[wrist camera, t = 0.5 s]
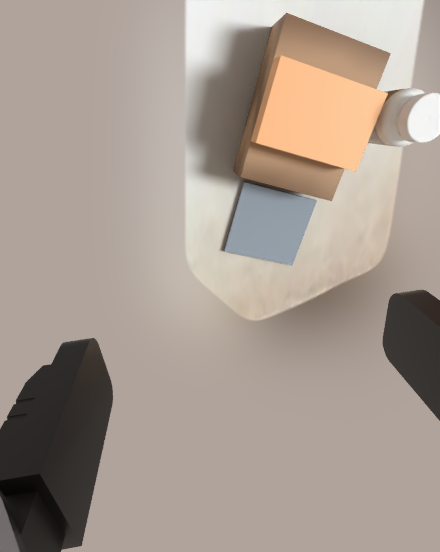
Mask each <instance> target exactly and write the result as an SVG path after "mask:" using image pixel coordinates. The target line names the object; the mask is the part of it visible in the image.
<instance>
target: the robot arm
mask: <svg viewBox="0 0 440 552" xmlns="http://www.w3.org/2000/svg"><path fill="white" fill-rule="evenodd" d="M383 347H384V351H385V354H386V356H387V358H388V360H389V361H390V362H391V363H392V365H393V366H394V367H395V368H396V369H397V371H398V372H399V373H400V374H401V375H402V377H403V378H404V379H405V380H406V381H407V383H408V384H409V385H410V386H411V387H412V388H413V390H414V391H415V392H416V393H417V394H418V395H419V397H420V398H421V399H422V400H423V401H424V403H425V404H426V405H427V406H428V407H429V409H430V410H431V411H432V412H433V413H434V414H435V416H436V417H437V418H438V419H439V420H440V300H438V299H437V298H436V297H434V296H433V295H431V294H430V293H429V292H427V291H425V290H416V291H410V292H403V293H396V294H393V295H392V296H391V297H390V300H389V304H388V310H387V316H386V323H385V328H384V335H383ZM112 402H113V390H112V384H111V380H110V377H109V374H108V371H107V368H106V365H105V362H104V359H103V356H102V353H101V350H100V348H99V345H98V342H97V341H96V340H95V339H94V338H91V339H84V340H77V341H70V342H65V343H62V345H61V346H60V348H59V350H58V352H57V354H56V356H55V358H54V360H53V362H52V364H51V365H44V366H42V367H41V368H40V369H39V370H38V371H37V372H36V373H35V374H34V375H33V376H32V377H31V378H30V379H29V380H28V381H27V382H26V383H25V385H24V387H23V389H22V391H21V392H20V394H19V396H18V398H17V400H16V404H14V405H13V407H12V409H11V411H10V412H9V414H8V416H7V421H5V422H4V423H3V425H2V427H1V429H0V552H61V550H62V549H67V548H73V547H78V546H82V541H83V537H84V532H85V527H86V523H87V518H88V513H89V509H90V504H91V500H92V495H93V491H94V486H95V482H96V477H97V472H98V467H99V463H100V459H101V454H102V449H103V445H104V440H105V436H106V431H107V426H108V422H109V417H110V413H111V408H112Z"/></svg>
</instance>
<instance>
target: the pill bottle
mask: <svg viewBox="0 0 440 552" xmlns="http://www.w3.org/2000/svg"><path fill="white" fill-rule="evenodd" d="M385 93H388V95H387V97H386V99H385V102H384V104H383V107H382V109H381V112H380V114H379V116H378V119H377V121H376V124H375V126H374V129H373V131H372V133H371V136H370V138H369V141H368V143H372V144H380V145H388V146H398V147H401V146H407V145H410V144H412V143H414V142H417V143H424V142H428V141H430V140H433V139H434V138H436V137H437V136H438V135H439V134H440V94H438V93H425V92H423V91H421V90H419V89H414V88H410V89H400V90H393V91H385Z"/></svg>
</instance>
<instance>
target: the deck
mask: <svg viewBox="0 0 440 552" xmlns="http://www.w3.org/2000/svg"><path fill="white" fill-rule="evenodd" d="M390 54H391V53H388V52H386V51H383V50H380V49H378V48H375V47H373V46H370V45H368V44H365V43H362V42H360V41H357V40H355V39H352V38H350V37H347V36H345V35H342V34H339V33H337V32H334V31H332V30H329V29H327V28H324V27H321V26H319V25H316V24H314V23H311V22H309V21H306V20H304V19H301V18H298V17H296V16H293V15H291V14H288V13H286V14H285V15H284V16H283V17H282V18H281V19H280V20H279V21H278V22H276V23H275V24H274V25H273V26H272V29H271V33H270V36H269V40H268V44H267V48H266V51H265V55H264V59H263V62H262V66H261V70H260V73H259V77H258V81H257V85H256V88H255V92H254V96H253V99H252V103H251V107H250V111H249V114H248V118H247V122H246V125H245V129H244V133H243V137H242V140H241V144H240V148H239V151H238V155H237V159H236V163H235V166H234V170H233V171H234V172H235V173H236V174H238V175H239V176H240V177H242V178H246V179H249V180H253V181H257V182H261V183H265V184H269V185H272V186H276V187H280V188H284V189H288V190H291V191H295V192H299V193H303V194H307V195H311V196H314V197H318V198H322V199H326V200H330V201H332V199H333V197H334V194H335V192H336V189H337V187H338V184H339V181H340V179H341V176H342V174H343V171H344V168H341V167H338V166H334V165H331V164H327V163H324V162H320V161H317V160H313V159H310V158H306V157H303V156H299V155H296V154H293V153H289V152H286V151H282V150H279V149H275V148H272V147H268V146H265V145H261V144H258V143H255V142H251V138H252V135H253V131H254V128H255V124H256V120H257V117H258V113H259V110H260V106H261V103H262V99H263V95H264V92H265V88H266V85H267V81H268V78H269V74H270V70H271V67H272V63H273V60H274V59H275V58H277V57H279V56H281V55H282V56H285V57H288V58H290V59H293V60H296V61H299V62H302V63H304V64H307V65H310V66H313V67H316V68H318V69H321V70H324V71H327V72H329V73H332V74H335V75H338V76H341V77H343V78H346V79H349V80H352V81H355V82H357V83H360V84H363V85H366V86H369V87H371V88H374V89H377V86H378V84H379V81H380V79H381V76H382V74H383V71H384V69H385V66H386V64H387V61H388V59H389V56H390Z"/></svg>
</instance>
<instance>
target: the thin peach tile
mask: <svg viewBox="0 0 440 552" xmlns="http://www.w3.org/2000/svg"><path fill="white" fill-rule="evenodd" d="M387 95H388V93H385V92H383V91H380V90H377V89H374V88H371V87H369V86H366V85H363V84H360V83H357V82H355V81H352V80H349V79H346V78H343V77H341V76H338V75H335V74H332V73H329V72H327V71H324V70H321V69H318V68H316V67H313V66H310V65H307V64H304V63H302V62H299V61H296V60H293V59H290V58H288V57H285V56H282V55H281V56H279V57H277V58H275V59H274V60H273V63H272V67H271V70H270V74H269V78H268V81H267V85H266V88H265V92H264V95H263V99H262V103H261V106H260V110H259V113H258V117H257V120H256V124H255V128H254V131H253V135H252V138H251V142H255V143H258V144H261V145H265V146H268V147H272V148H275V149H279V150H282V151H286V152H289V153H293V154H296V155H299V156H303V157H306V158H310V159H313V160H317V161H320V162H324V163H327V164H331V165H334V166H338V167H341V168H344V169H348V170H351V171H355V172H356V170H357V167H358V165H359V162H360V160H361V158H362V155H363V153H364V150H365V148H366V145H367V143H368V141H369V138H370V136H371V133H372V131H373V129H374V126H375V124H376V121H377V119H378V116H379V114H380V112H381V109H382V107H383V104H384V102H385V99H386V97H387Z"/></svg>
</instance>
